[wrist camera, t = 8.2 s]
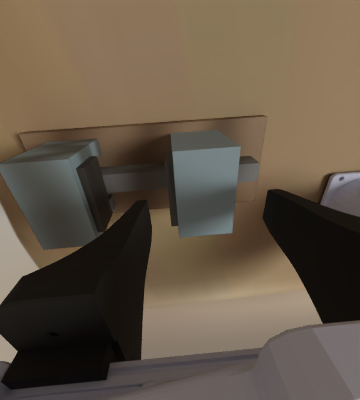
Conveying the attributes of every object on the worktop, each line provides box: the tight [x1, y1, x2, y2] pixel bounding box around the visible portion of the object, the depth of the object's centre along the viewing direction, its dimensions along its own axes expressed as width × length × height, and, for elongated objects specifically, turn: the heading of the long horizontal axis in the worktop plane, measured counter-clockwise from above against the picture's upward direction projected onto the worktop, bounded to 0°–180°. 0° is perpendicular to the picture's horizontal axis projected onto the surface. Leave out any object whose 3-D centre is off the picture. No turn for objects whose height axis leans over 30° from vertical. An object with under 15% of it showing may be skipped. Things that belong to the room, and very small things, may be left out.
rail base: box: [0, 115, 267, 250], centre depth 15 cm, size 20×8×6 cm, turn 93°
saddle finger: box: [165, 130, 241, 238], centre depth 15 cm, size 4×6×6 cm
